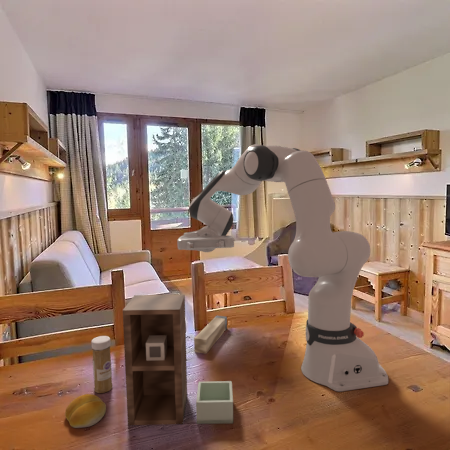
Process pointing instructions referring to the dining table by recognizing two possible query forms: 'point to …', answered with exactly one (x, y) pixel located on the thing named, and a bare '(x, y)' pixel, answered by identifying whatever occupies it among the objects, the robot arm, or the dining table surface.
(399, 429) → the dining table surface
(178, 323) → the walnut shelf
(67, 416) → the bread roll
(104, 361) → the sprinkles bottle
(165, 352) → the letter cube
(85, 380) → the dining table surface
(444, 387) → the dining table surface
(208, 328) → the birch bar
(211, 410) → the green box
